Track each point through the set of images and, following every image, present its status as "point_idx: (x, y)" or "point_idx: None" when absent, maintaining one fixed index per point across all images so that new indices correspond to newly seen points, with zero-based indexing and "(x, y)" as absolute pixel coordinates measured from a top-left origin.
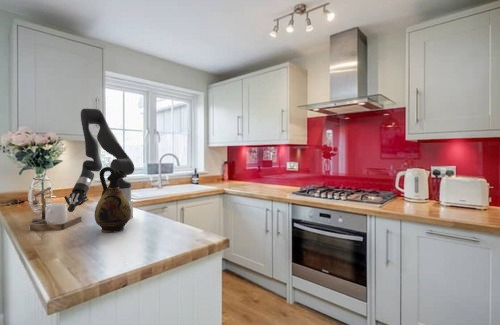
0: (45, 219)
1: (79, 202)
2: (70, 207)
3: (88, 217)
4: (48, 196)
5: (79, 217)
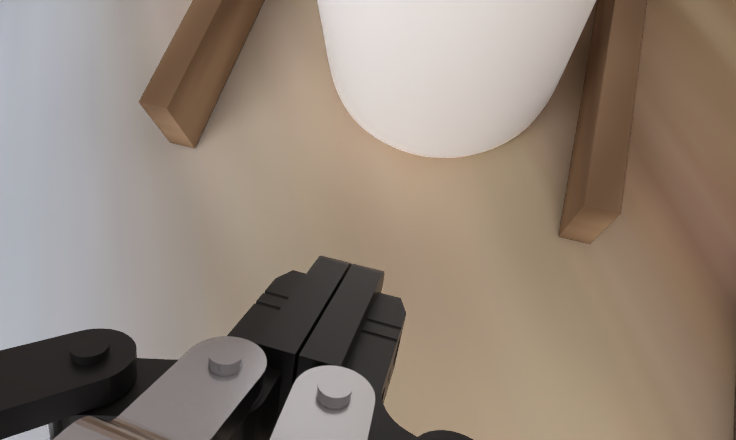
0: (635, 68)
1: (36, 355)
2: (332, 299)
3: None
4: None
5: (161, 61)
